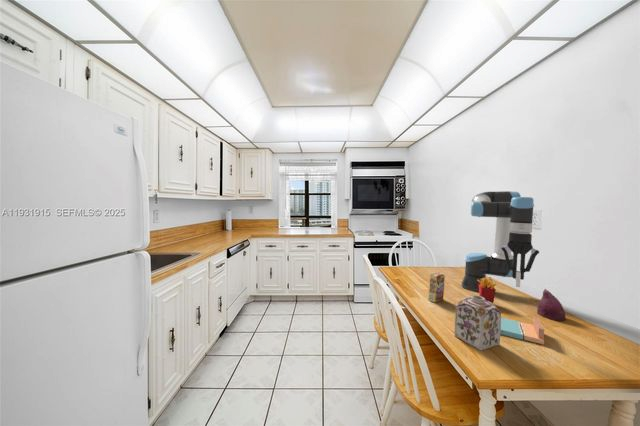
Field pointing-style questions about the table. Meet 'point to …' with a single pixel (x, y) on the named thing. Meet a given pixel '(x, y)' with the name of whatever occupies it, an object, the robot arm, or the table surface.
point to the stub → (533, 331)
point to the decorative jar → (478, 322)
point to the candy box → (436, 287)
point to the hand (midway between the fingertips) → (517, 286)
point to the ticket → (511, 328)
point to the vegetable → (550, 307)
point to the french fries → (487, 289)
